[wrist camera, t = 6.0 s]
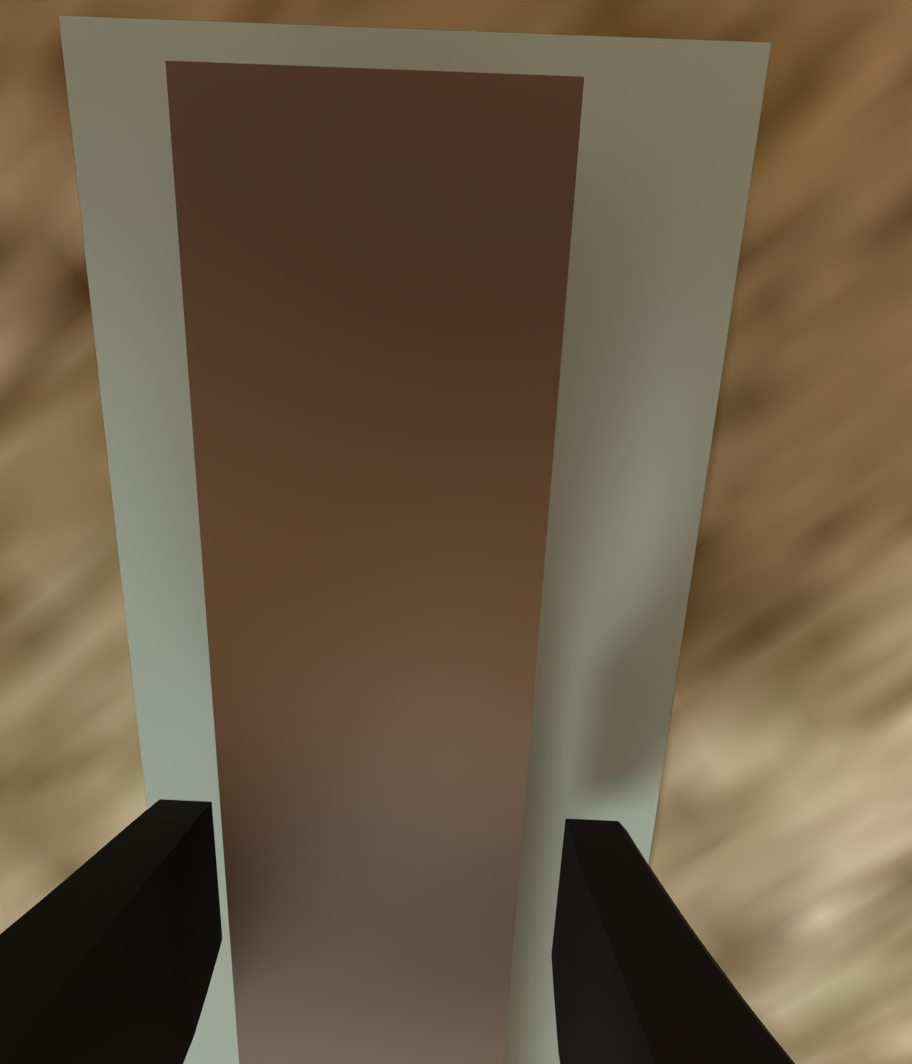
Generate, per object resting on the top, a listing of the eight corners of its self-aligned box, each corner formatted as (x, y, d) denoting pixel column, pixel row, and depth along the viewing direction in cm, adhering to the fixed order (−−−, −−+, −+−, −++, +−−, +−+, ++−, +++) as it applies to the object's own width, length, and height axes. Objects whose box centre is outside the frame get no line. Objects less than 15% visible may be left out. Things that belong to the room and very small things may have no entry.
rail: (473, 1193, 13) (473, 1435, 10) (309, 1185, 13) (265, 1422, 10) (546, 148, 8) (583, 76, 5) (272, 139, 8) (165, 60, 5)
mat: (589, 1210, 13) (592, 1237, 13) (200, 1190, 13) (192, 1216, 13) (755, 54, 8) (770, 42, 7) (79, 28, 8) (58, 16, 7)
